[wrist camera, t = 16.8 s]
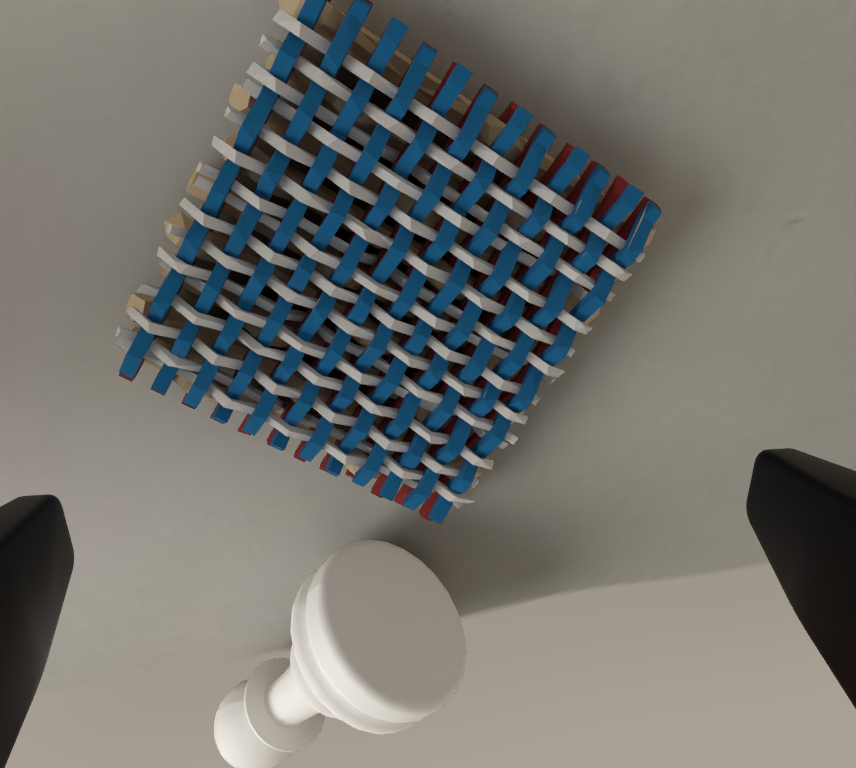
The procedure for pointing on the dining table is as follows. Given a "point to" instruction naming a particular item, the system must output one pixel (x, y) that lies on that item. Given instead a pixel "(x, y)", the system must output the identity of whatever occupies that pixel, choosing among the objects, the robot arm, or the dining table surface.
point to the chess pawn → (350, 657)
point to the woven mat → (383, 263)
